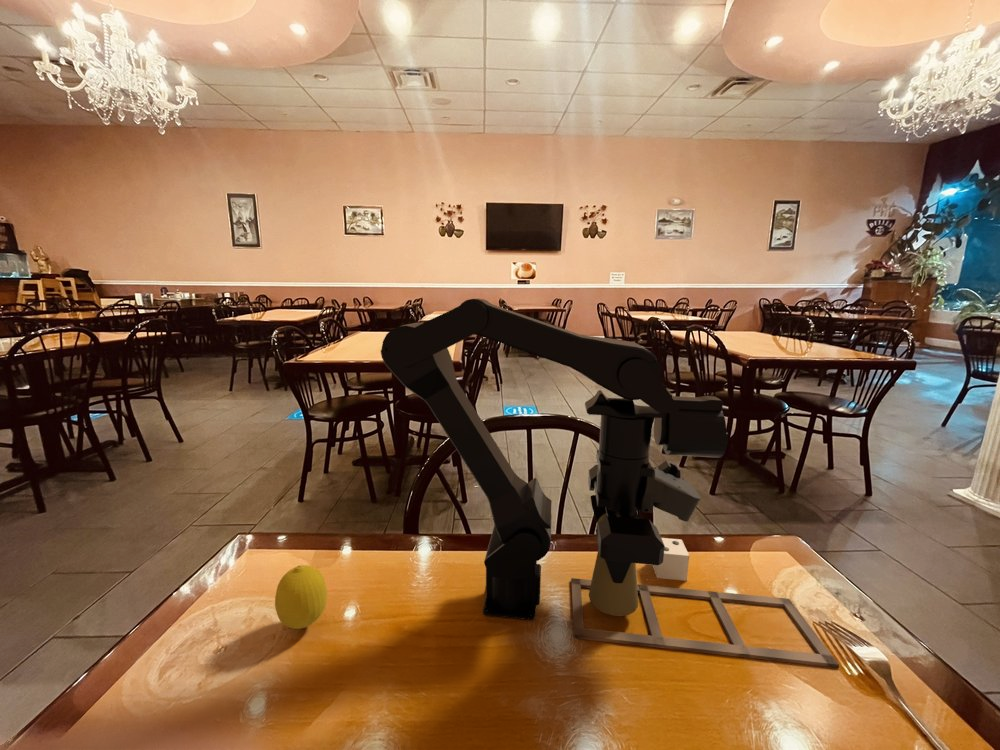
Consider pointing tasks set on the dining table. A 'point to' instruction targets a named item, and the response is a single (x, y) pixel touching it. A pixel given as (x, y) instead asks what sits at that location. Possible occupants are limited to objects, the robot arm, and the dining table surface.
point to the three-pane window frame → (732, 649)
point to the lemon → (300, 597)
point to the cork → (613, 589)
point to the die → (673, 561)
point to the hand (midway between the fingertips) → (615, 569)
